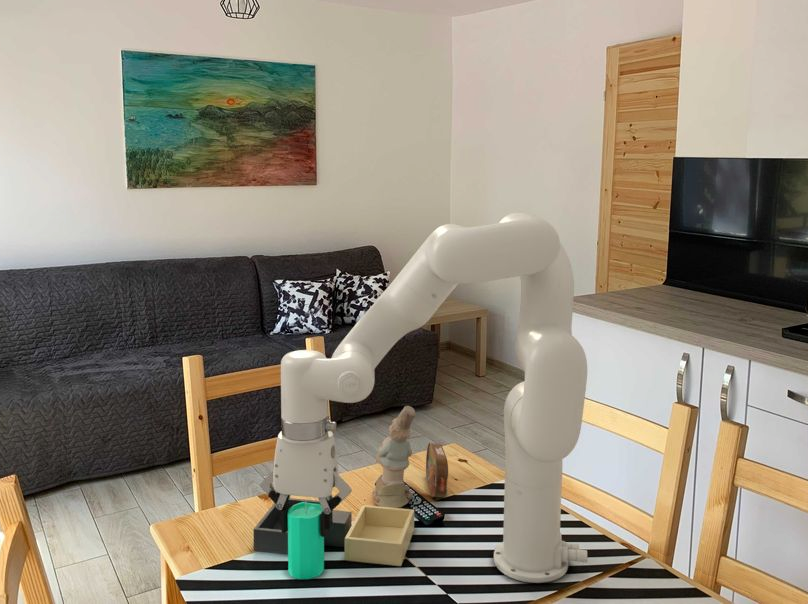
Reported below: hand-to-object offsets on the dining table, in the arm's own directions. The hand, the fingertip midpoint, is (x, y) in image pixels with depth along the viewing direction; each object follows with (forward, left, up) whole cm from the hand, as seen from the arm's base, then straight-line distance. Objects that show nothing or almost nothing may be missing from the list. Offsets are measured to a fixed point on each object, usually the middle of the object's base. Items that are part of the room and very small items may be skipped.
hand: (305, 529), depth 118 cm
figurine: (-9, -27, -7) cm, 29 cm away
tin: (-17, -34, -7) cm, 39 cm away
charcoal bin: (+6, -10, -7) cm, 14 cm away
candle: (0, 0, -7) cm, 7 cm away
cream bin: (-11, -10, -7) cm, 16 cm away
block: (-2, -10, -7) cm, 12 cm away
